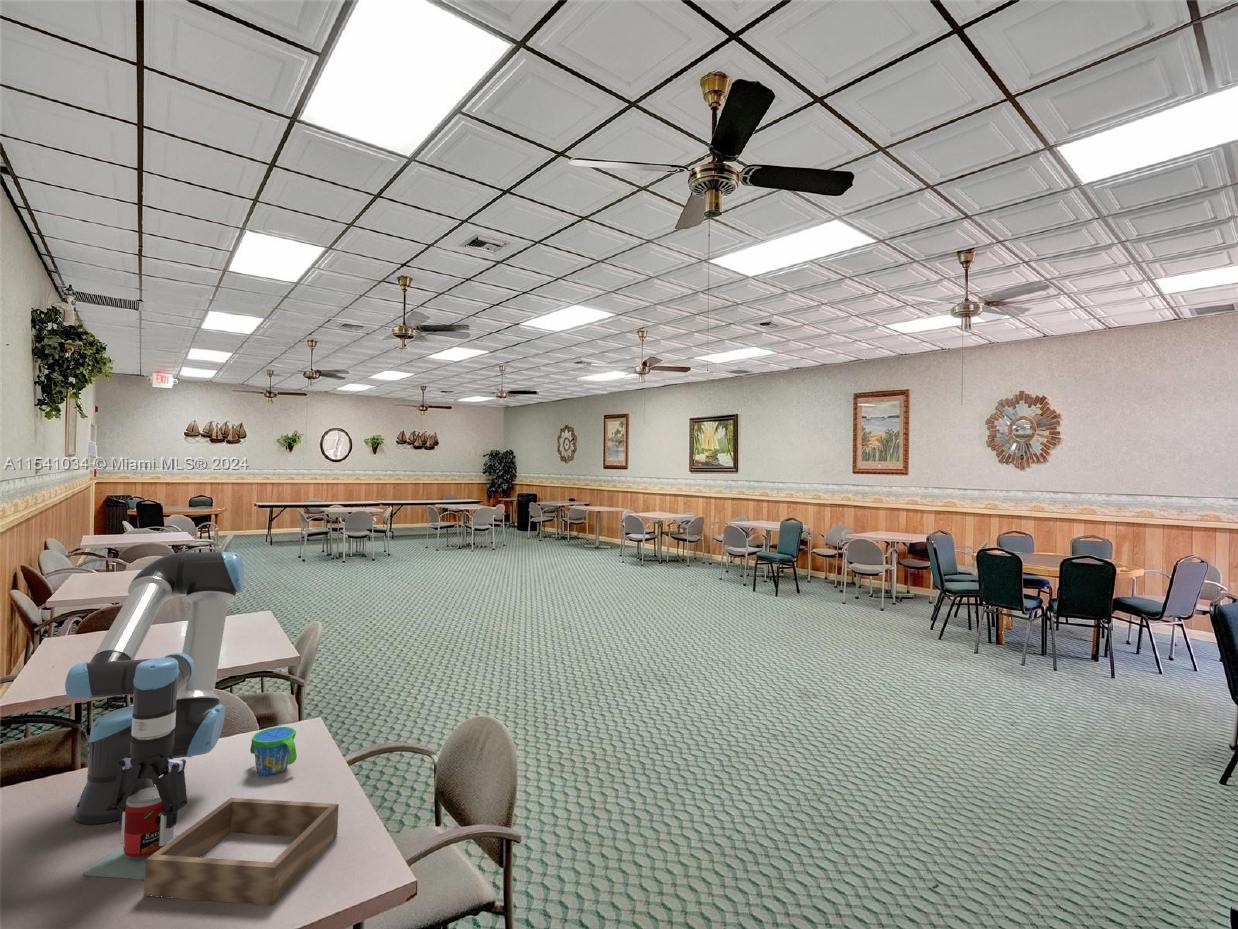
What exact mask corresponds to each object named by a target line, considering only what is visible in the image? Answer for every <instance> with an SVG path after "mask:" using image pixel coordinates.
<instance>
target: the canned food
mask: <svg viewBox="0 0 1238 929" xmlns="http://www.w3.org/2000/svg"><path fill="white" fill-rule="evenodd" d="M164 812H165V811H164V808H163V805H162V799H161V798H160V796H159V793H158V790H157V787H156V786H155V787H150V788H146V789H142V790H140V791H138V792H137V793H135V794H133V795H132V796H129V797H128V798H127V801H126V810H125V828H124V844H123V845H122V847H123V850H124V853H125V855H126V856H129V857H141V856H146V855H149V854H152V853H154V852H156V851H158V850H159V849H161V848H162V847H164V846H165V845H166V844H167V843H166V844H165V845H163V846H159V839H160V822H161V814H163V813H164Z"/></svg>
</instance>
